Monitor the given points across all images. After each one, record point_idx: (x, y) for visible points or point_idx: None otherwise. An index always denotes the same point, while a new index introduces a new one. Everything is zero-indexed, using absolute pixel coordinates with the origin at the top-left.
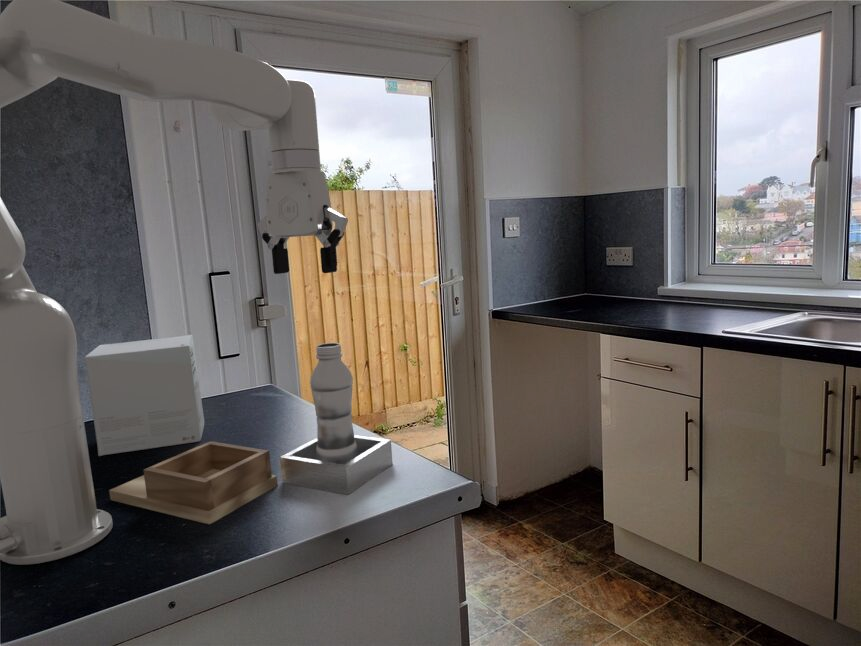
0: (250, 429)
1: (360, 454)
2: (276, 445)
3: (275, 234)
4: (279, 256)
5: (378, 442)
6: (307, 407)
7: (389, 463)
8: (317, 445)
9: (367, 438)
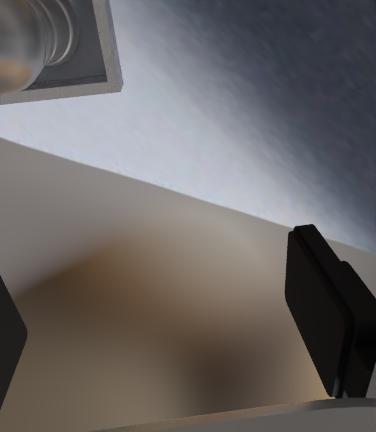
0: (334, 113)
1: (53, 82)
2: (238, 75)
3: (346, 417)
4: (321, 311)
5: None
6: None
7: None
8: (60, 4)
9: (32, 93)
